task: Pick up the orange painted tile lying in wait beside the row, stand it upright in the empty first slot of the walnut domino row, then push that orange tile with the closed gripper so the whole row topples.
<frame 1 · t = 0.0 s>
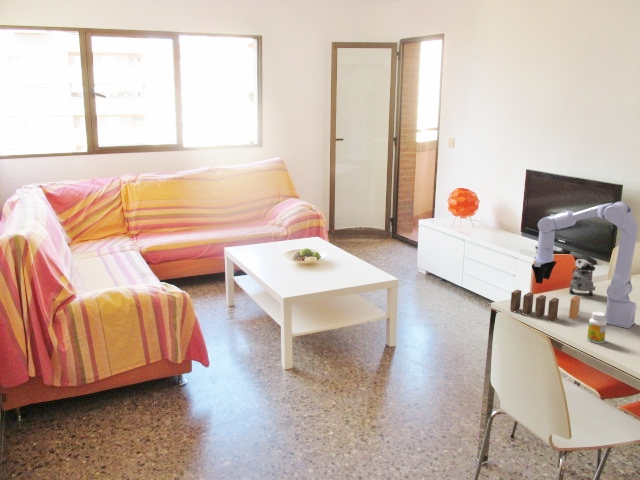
hand: (542, 280, 236), 10 cm above the table, tool pointing down, fingers open, 7 cm apart
tile 3: (539, 315, 227), on the table
orange tile: (573, 316, 226), on the table
tile 4: (527, 312, 230), on the table
figurine: (581, 295, 251), on the table
tile 2: (552, 318, 224), on the table
supplement bottle: (595, 341, 204), on the table
tile 5: (515, 310, 233), on the table
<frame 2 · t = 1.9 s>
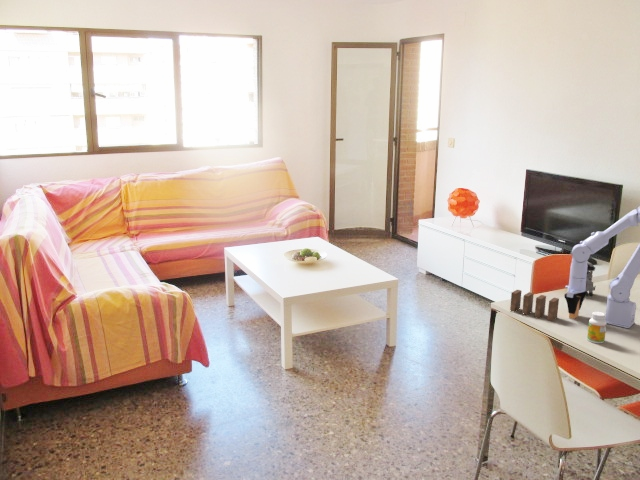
hand: (574, 311, 226), 2 cm above the table, tool pointing down, fingers closed on orange tile, 5 cm apart
orange tile: (573, 316, 226), on the table, touching gripper
everything else where it was.
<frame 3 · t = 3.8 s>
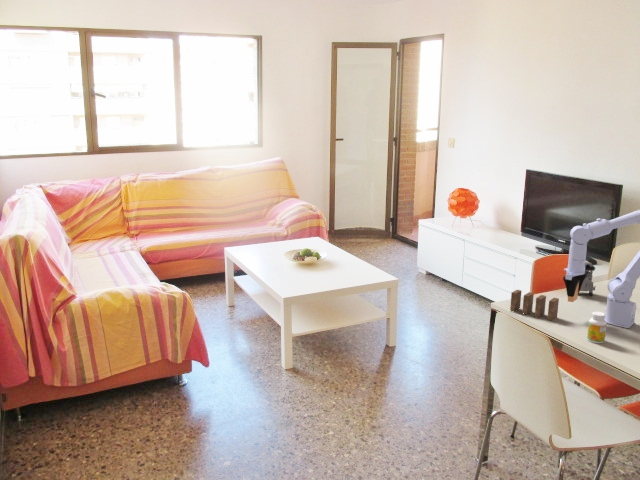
hand: (573, 294, 222), 9 cm above the table, tool pointing down, fingers closed on orange tile, 5 cm apart
orange tile: (572, 300, 223), point 7 cm above the table, touching gripper
everything else where it was.
when the fingers open (3 cm above the table, at t = 5.9 s): orange tile drops 1 cm, on the table.
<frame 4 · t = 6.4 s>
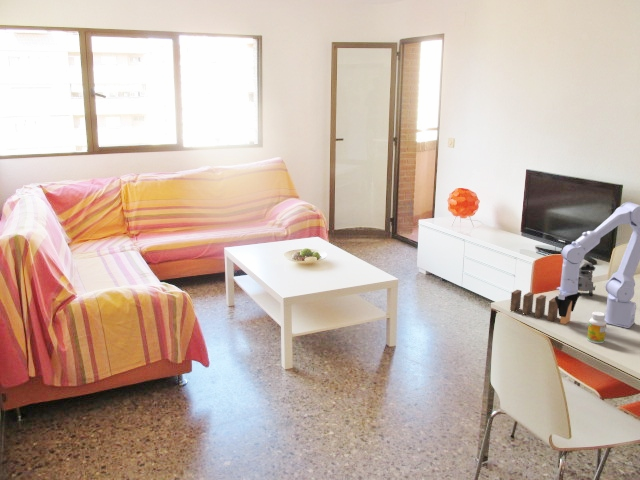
hand: (566, 313, 220), 3 cm above the table, tool pointing down, fingers open, 7 cm apart
orange tile: (565, 321, 221), on the table
everything else where it was.
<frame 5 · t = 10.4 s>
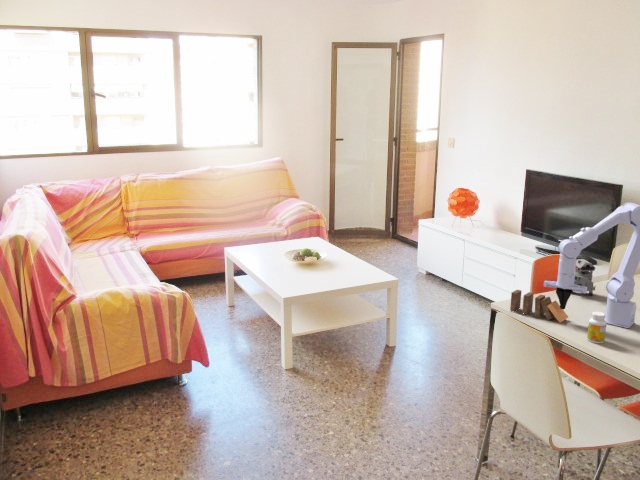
hand: (562, 308, 221), 5 cm above the table, tool pointing down, fingers closed
orange tile: (564, 320, 221), point 1 cm above the table, tilted 44°, touching tile 2
tile 2: (551, 317, 224), on the table, tilted 26°, touching orange tile
everything else where it was.
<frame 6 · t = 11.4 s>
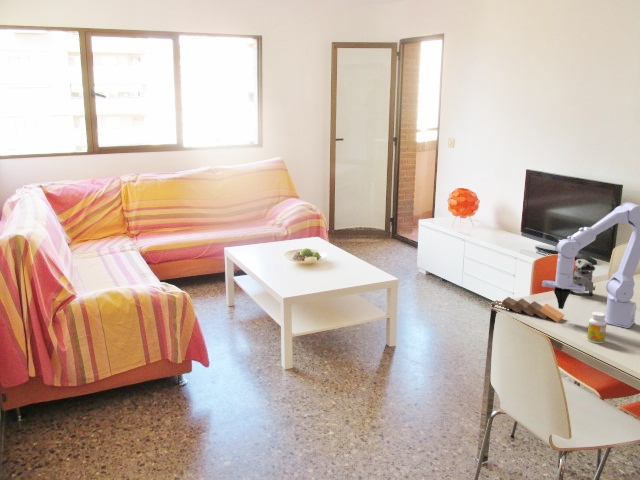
hand: (561, 308, 221), 5 cm above the table, tool pointing down, fingers closed
tile 3: (535, 312, 228), point 1 cm above the table, tilted 68°, touching tile 2, tile 4
orange tile: (561, 318, 222), point 1 cm above the table, tilted 67°, touching tile 2
tile 4: (522, 309, 231), point 1 cm above the table, tilted 73°, touching tile 3, tile 5
tile 2: (548, 315, 225), point 1 cm above the table, tilted 68°, touching orange tile, tile 3
tile 5: (511, 308, 234), on the table, tilted 90°, touching tile 4
everything else where it was.
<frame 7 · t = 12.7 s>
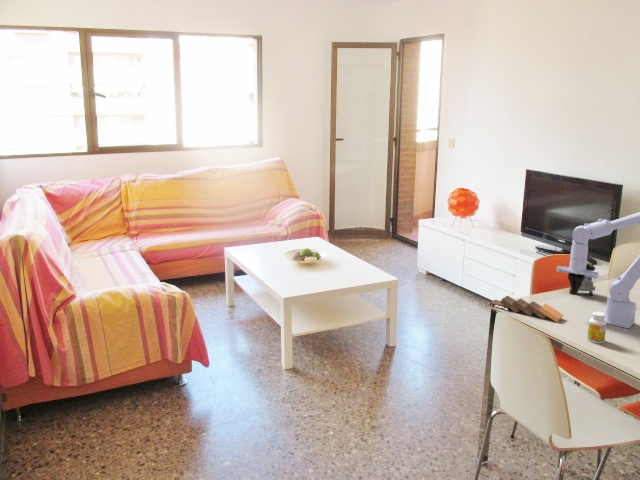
hand: (574, 293, 225), 9 cm above the table, tool pointing down, fingers closed
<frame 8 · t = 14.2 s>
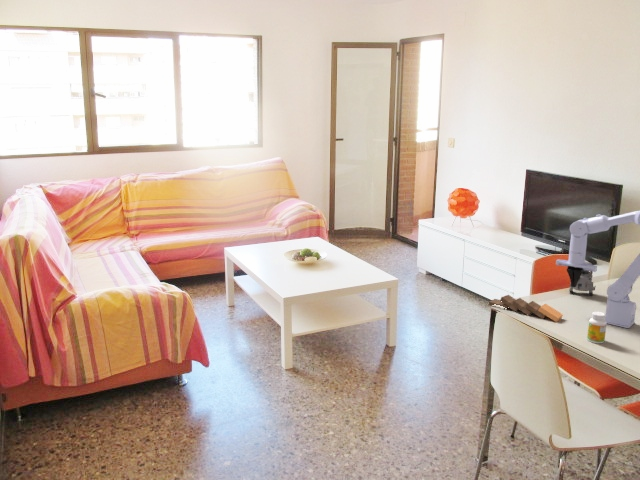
hand: (573, 286, 229), 10 cm above the table, tool pointing down, fingers closed
tile 4: (519, 308, 232), point 1 cm above the table, tilted 70°, touching tile 3
tile 5: (509, 306, 235), point 1 cm above the table, tilted 90°
at the end: tile 5 tilted 90°; orange tile tilted 69°; orange tile inside the target area (0.3 cm from its centre), point 0.8 cm above the table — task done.
